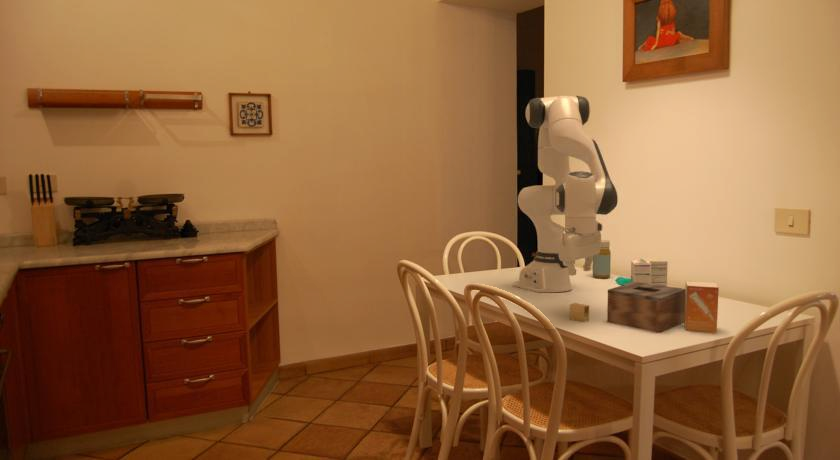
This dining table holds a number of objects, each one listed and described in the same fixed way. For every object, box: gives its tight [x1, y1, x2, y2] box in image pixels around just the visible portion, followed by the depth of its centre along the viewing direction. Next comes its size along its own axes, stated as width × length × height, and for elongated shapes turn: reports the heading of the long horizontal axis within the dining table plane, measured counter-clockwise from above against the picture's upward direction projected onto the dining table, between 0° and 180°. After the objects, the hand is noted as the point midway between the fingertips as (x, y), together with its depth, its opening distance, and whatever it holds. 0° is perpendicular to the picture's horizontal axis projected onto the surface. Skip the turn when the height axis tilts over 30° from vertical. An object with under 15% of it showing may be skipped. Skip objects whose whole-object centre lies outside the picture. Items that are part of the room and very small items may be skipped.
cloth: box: [614, 276, 631, 286], centre depth 225 cm, size 26×14×2 cm, turn 164°
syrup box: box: [630, 259, 651, 284], centre depth 194 cm, size 6×6×14 cm
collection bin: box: [606, 282, 685, 334], centre depth 172 cm, size 16×16×10 cm
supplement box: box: [639, 257, 669, 286], centre depth 208 cm, size 7×7×13 cm
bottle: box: [592, 239, 612, 279], centre depth 241 cm, size 7×7×15 cm
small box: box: [683, 281, 720, 334], centre depth 164 cm, size 8×6×13 cm
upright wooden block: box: [569, 302, 590, 323], centre depth 175 cm, size 5×2×5 cm, turn 42°
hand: (579, 272), depth 173 cm, fingers open, 8 cm apart
